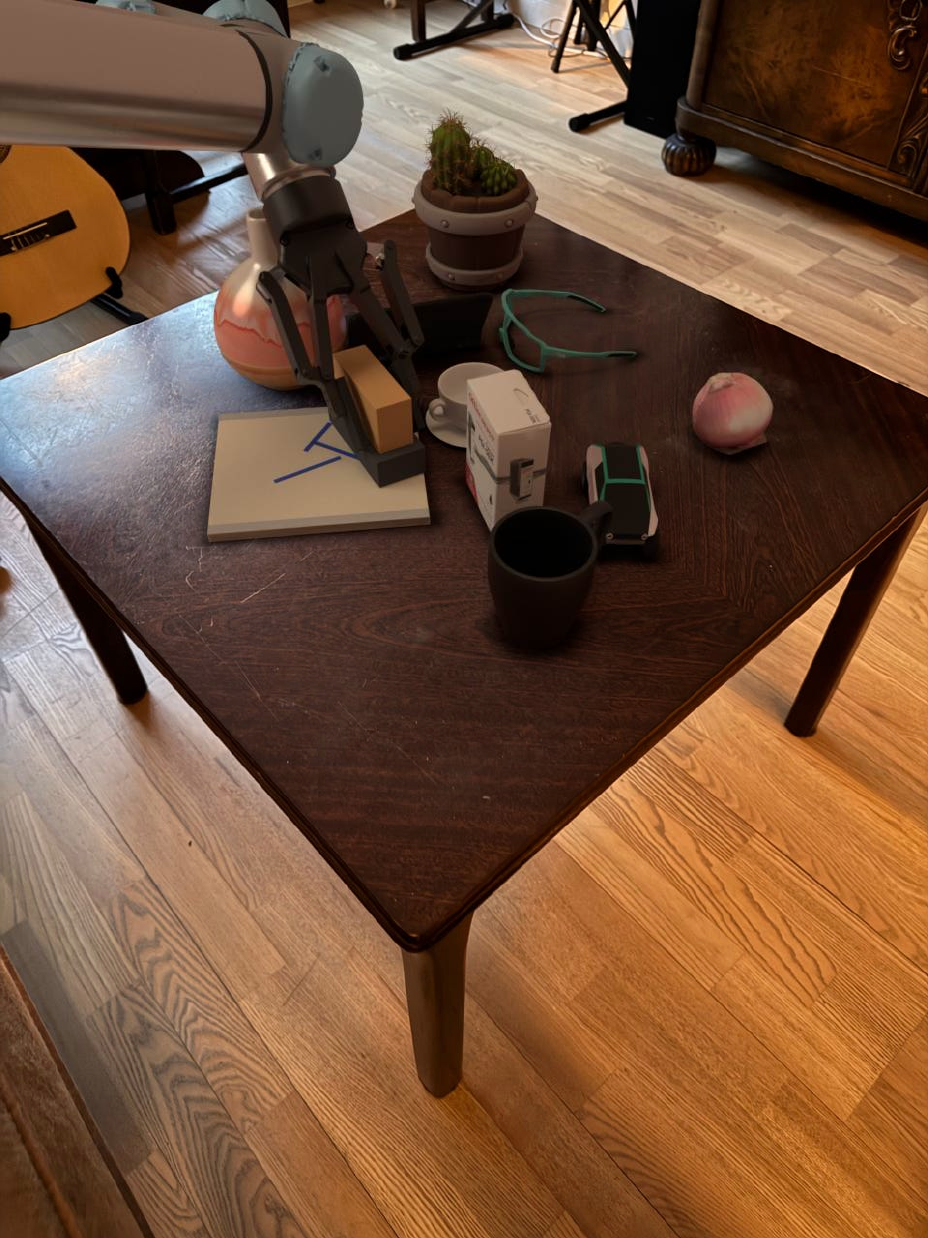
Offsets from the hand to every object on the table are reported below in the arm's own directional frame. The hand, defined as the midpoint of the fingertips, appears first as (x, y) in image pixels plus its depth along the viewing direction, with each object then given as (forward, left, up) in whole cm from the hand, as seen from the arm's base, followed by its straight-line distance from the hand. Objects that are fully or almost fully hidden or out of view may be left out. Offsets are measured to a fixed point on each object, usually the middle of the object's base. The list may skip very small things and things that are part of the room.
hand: (390, 438), depth 81 cm
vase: (-10, +19, -4) cm, 22 cm away
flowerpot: (+13, +39, -4) cm, 41 cm away
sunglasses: (+21, +22, -4) cm, 30 cm away
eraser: (-1, +3, -3) cm, 5 cm away
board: (-7, +2, -4) cm, 8 cm away
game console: (+4, +22, -4) cm, 23 cm away
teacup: (+9, +8, -4) cm, 12 cm away
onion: (+34, +2, -4) cm, 34 cm away
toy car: (+20, -9, -4) cm, 22 cm away
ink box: (+10, -5, -4) cm, 12 cm away
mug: (+12, -19, -4) cm, 23 cm away
